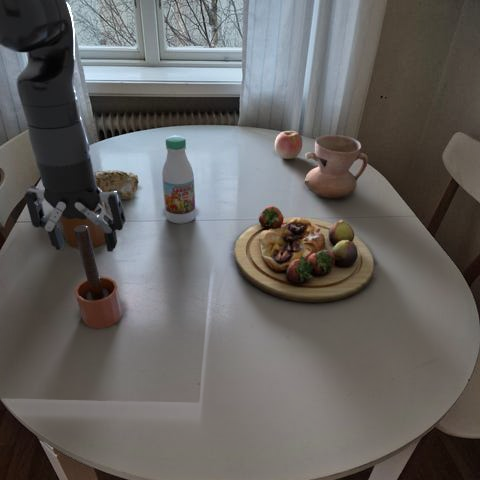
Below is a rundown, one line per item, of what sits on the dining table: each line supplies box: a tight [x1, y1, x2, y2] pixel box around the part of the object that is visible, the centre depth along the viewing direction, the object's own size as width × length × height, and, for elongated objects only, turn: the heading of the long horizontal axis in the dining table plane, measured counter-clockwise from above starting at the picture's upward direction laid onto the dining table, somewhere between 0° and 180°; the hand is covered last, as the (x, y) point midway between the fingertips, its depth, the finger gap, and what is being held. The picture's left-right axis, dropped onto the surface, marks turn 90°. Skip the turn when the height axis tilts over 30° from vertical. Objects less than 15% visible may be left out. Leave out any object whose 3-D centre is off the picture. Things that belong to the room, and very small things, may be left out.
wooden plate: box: [233, 205, 375, 303], centre depth 97 cm, size 32×32×8 cm
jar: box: [59, 187, 107, 249], centre depth 100 cm, size 10×10×11 cm
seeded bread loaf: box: [94, 170, 140, 200], centre depth 116 cm, size 13×8×20 cm
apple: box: [274, 130, 303, 160], centre depth 140 cm, size 9×9×8 cm
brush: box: [74, 225, 109, 301], centre depth 76 cm, size 4×4×19 cm
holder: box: [74, 275, 123, 329], centre depth 81 cm, size 7×8×7 cm
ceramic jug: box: [304, 134, 369, 199], centre depth 120 cm, size 18×14×14 cm
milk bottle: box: [161, 135, 196, 224], centre depth 105 cm, size 8×8×20 cm
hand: (86, 248), depth 73 cm, fingers open, 8 cm apart
